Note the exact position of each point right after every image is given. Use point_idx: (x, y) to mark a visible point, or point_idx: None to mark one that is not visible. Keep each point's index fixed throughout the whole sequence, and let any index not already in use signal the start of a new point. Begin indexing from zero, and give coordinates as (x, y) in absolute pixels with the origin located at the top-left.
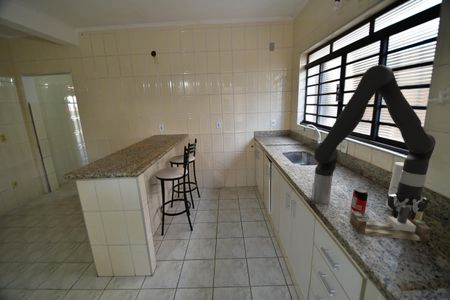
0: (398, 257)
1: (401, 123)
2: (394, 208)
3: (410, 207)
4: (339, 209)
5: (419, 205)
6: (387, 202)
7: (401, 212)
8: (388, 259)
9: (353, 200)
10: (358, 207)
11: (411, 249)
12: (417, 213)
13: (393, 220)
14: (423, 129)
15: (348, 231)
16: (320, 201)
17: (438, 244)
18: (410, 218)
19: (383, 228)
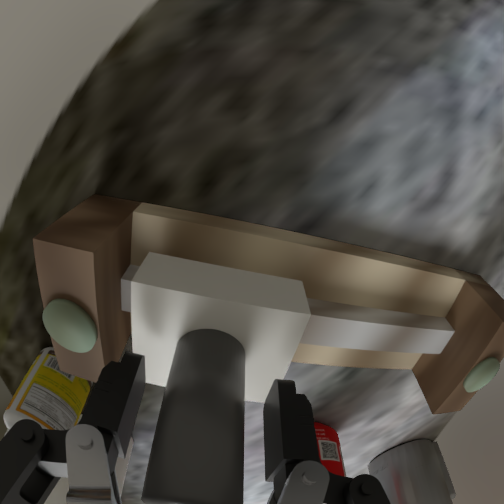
0: (436, 56)
1: None
2: (330, 486)
3: (117, 487)
4: (384, 428)
5: (30, 489)
6: (128, 461)
7: (242, 444)
8: (490, 62)
9: None
10: (332, 449)
11: (286, 104)
12: (41, 395)
13: (280, 363)
14: None
15: (500, 282)
16: (428, 448)
17: (52, 174)
18: (141, 370)
19: (340, 306)
